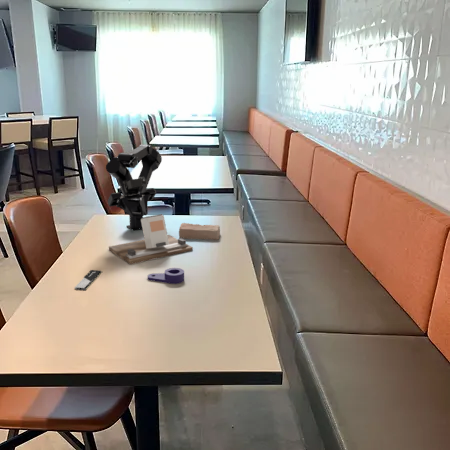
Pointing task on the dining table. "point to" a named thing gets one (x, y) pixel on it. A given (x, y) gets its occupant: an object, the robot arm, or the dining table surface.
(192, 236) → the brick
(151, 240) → the relay module
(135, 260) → the board
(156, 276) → the lever
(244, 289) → the dining table surface
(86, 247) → the dining table surface
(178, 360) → the dining table surface
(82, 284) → the computer memory module
